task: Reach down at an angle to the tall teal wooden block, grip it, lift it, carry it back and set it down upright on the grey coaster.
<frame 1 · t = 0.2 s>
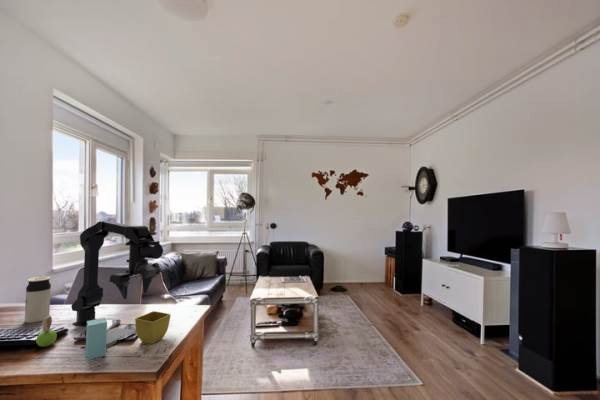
hand: (135, 295, 115), 14 cm above the table, tool pointing down, fingers open, 9 cm apart
travel mug: (37, 320, 125), on the table
flower pot: (152, 341, 107), on the table
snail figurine: (45, 347, 101), on the table
coaster: (111, 338, 108), on the table
block: (95, 354, 96), on the table
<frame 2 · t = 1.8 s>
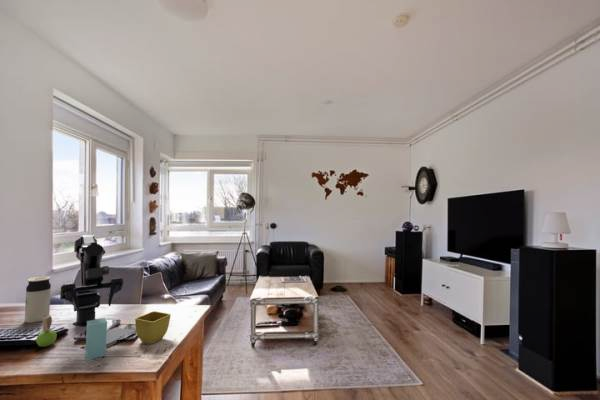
hand: (94, 308, 102), 13 cm above the table, tool tilted 45°, fingers open, 9 cm apart
nothing on the table moved.
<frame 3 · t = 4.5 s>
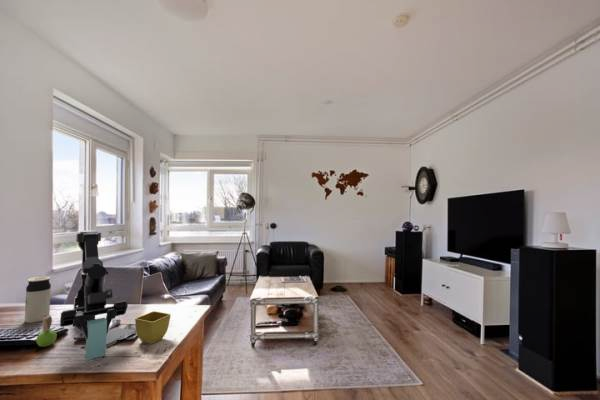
hand: (97, 336, 95), 7 cm above the table, tool tilted 45°, fingers closed on block, 5 cm apart
block: (95, 354, 96), on the table, touching gripper
everything else where it was.
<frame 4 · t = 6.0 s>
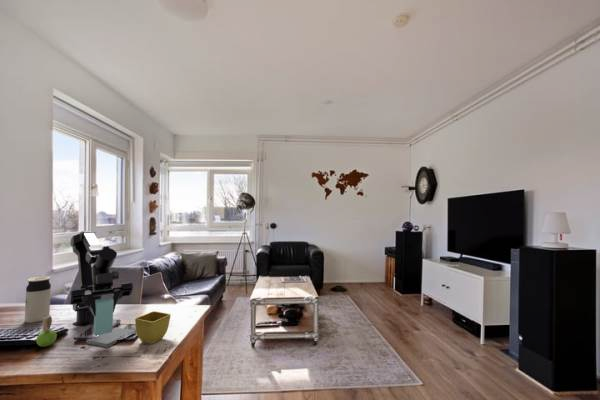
hand: (104, 313, 101), 12 cm above the table, tool tilted 45°, fingers closed on block, 5 cm apart
block: (102, 331, 101), point 5 cm above the table, touching gripper
everything else where it was.
when the fingers open (9 cm above the table, at t = 7.6 s): block stays where it is, resting on coaster.
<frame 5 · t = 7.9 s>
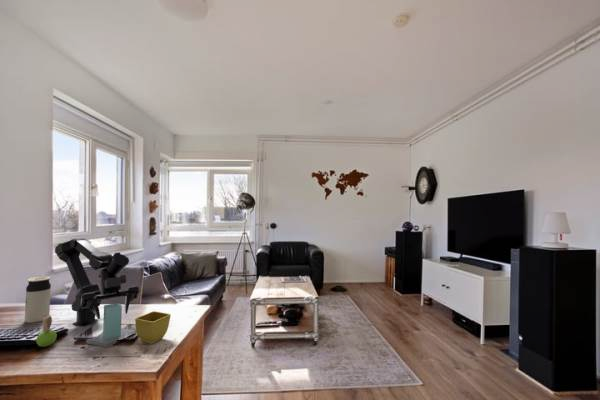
hand: (113, 315, 107), 9 cm above the table, tool tilted 45°, fingers open, 8 cm apart
block: (111, 335, 108), point 1 cm above the table, touching coaster
everything else where it was.
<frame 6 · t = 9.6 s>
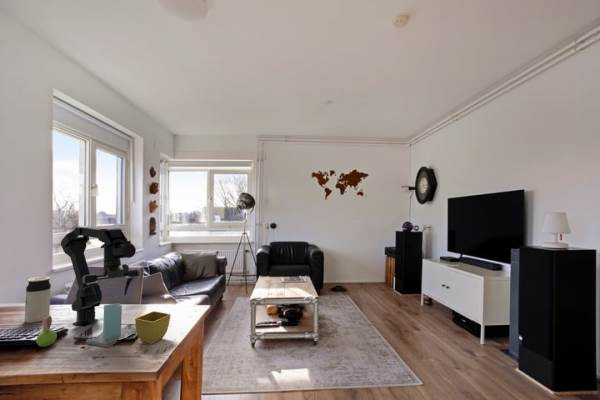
hand: (111, 297, 116), 13 cm above the table, tool pointing down, fingers open, 9 cm apart
nothing on the table moved.
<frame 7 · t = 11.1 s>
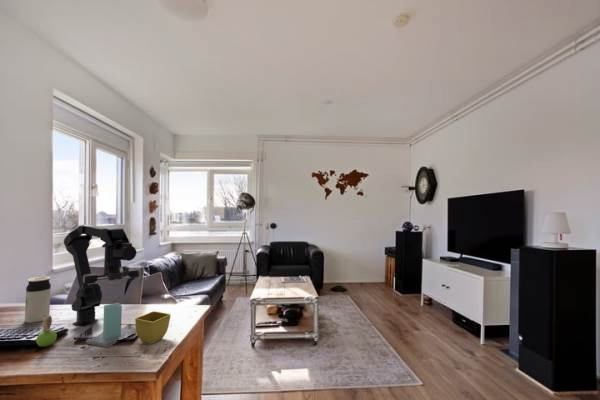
hand: (111, 297, 116), 13 cm above the table, tool pointing down, fingers open, 9 cm apart
nothing on the table moved.
at the end: block inside the target area on the coaster (0.0 cm from its centre), point 1.2 cm above the coaster's base; block tilted 0°; the gripper is holding nothing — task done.
